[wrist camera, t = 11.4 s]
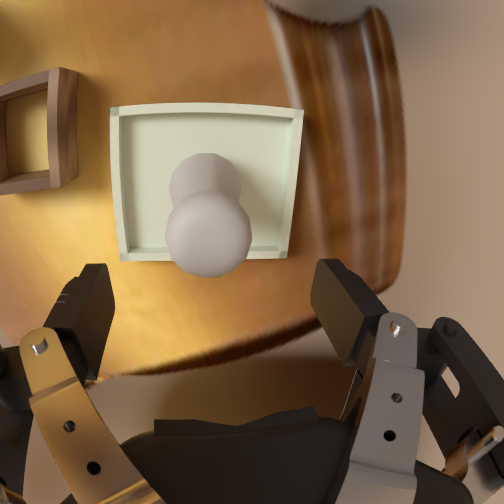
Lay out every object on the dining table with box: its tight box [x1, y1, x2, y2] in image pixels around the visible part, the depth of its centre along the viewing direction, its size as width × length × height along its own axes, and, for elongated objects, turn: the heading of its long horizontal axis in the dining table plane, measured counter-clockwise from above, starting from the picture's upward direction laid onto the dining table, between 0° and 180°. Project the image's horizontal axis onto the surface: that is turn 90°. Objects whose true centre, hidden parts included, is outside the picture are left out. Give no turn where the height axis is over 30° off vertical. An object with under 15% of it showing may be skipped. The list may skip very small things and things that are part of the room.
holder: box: [0, 67, 78, 195], centre depth 17 cm, size 10×10×4 cm
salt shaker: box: [165, 153, 252, 277], centre depth 19 cm, size 6×6×13 cm
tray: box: [110, 103, 304, 261], centre depth 24 cm, size 14×16×2 cm
